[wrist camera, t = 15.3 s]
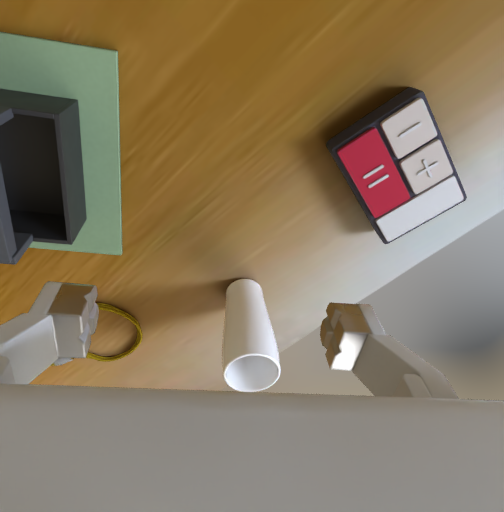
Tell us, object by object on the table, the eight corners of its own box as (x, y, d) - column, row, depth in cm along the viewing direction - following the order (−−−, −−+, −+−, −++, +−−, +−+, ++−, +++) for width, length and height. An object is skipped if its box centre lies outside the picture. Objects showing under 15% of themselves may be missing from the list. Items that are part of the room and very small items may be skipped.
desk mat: (-85, 17, 36) (-90, 18, 36) (118, 50, 39) (116, 51, 38) (-27, 239, 49) (-30, 242, 49) (122, 252, 52) (121, 255, 51)
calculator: (426, 90, 40) (471, 201, 47) (409, 84, 44) (453, 188, 50) (331, 151, 43) (387, 248, 50) (323, 141, 46) (376, 232, 53)
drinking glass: (269, 273, 56) (285, 353, 43) (264, 309, 59) (277, 393, 47) (222, 271, 55) (224, 353, 43) (219, 308, 59) (220, 393, 46)
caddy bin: (-28, 84, 39) (-102, 111, 30) (78, 99, 41) (39, 129, 31) (-2, 210, 46) (-55, 262, 37) (86, 219, 48) (57, 271, 39)
